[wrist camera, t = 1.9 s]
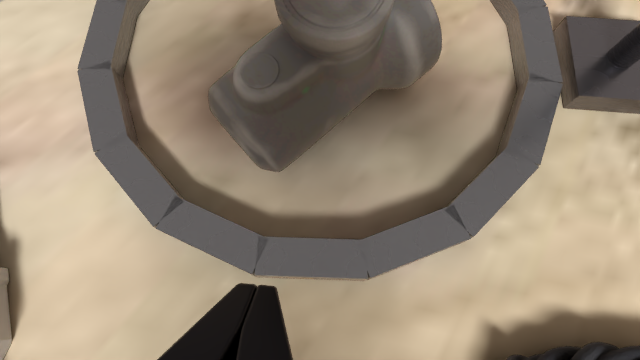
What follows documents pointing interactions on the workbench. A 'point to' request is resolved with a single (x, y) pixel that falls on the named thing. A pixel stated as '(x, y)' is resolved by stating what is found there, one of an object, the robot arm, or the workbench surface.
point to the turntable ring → (318, 253)
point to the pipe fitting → (321, 71)
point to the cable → (586, 353)
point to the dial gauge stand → (599, 63)
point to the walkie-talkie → (4, 314)
